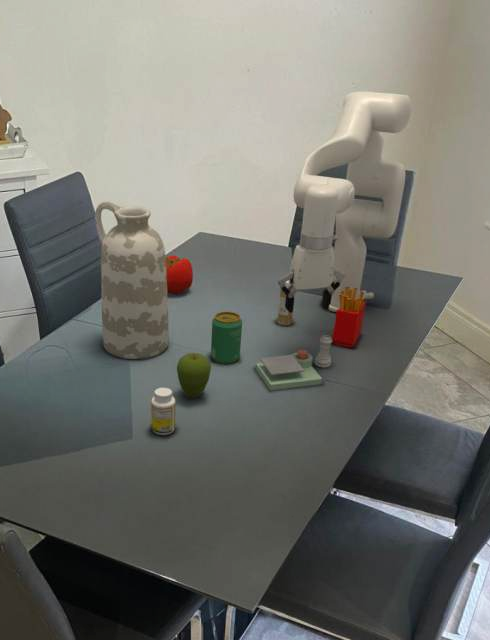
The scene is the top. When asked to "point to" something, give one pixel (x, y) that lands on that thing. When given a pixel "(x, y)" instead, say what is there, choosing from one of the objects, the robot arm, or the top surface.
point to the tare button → (302, 354)
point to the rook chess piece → (324, 353)
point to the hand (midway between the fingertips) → (307, 309)
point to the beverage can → (226, 337)
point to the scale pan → (282, 365)
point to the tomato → (178, 274)
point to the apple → (193, 373)
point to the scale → (291, 375)
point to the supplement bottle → (163, 411)
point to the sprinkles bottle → (284, 309)
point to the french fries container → (348, 318)
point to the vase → (133, 284)
